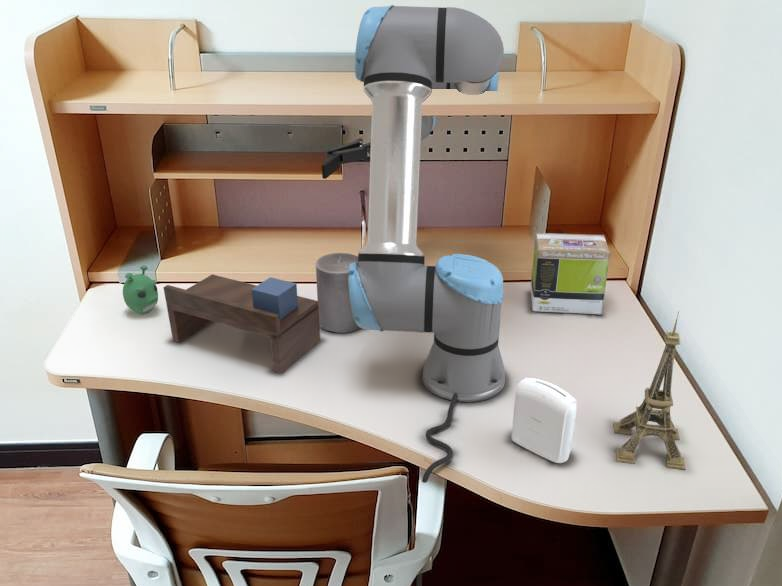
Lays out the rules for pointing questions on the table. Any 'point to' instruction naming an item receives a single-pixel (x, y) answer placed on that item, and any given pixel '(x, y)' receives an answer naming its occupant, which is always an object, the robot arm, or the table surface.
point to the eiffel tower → (654, 412)
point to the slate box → (275, 296)
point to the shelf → (243, 316)
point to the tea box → (569, 273)
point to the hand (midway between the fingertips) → (354, 177)
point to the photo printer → (544, 419)
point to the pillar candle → (335, 292)
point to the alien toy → (140, 292)
